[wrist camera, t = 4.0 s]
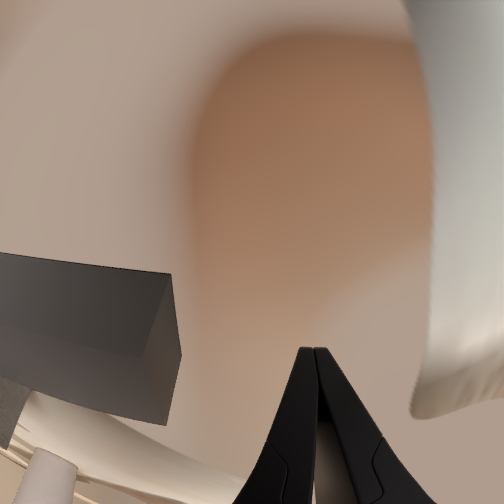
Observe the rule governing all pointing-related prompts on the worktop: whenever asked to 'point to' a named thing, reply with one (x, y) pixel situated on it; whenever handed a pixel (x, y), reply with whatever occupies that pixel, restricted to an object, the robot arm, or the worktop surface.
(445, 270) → the worktop surface
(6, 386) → the long gray rectangular block
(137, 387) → the bar
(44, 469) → the coffee cup
